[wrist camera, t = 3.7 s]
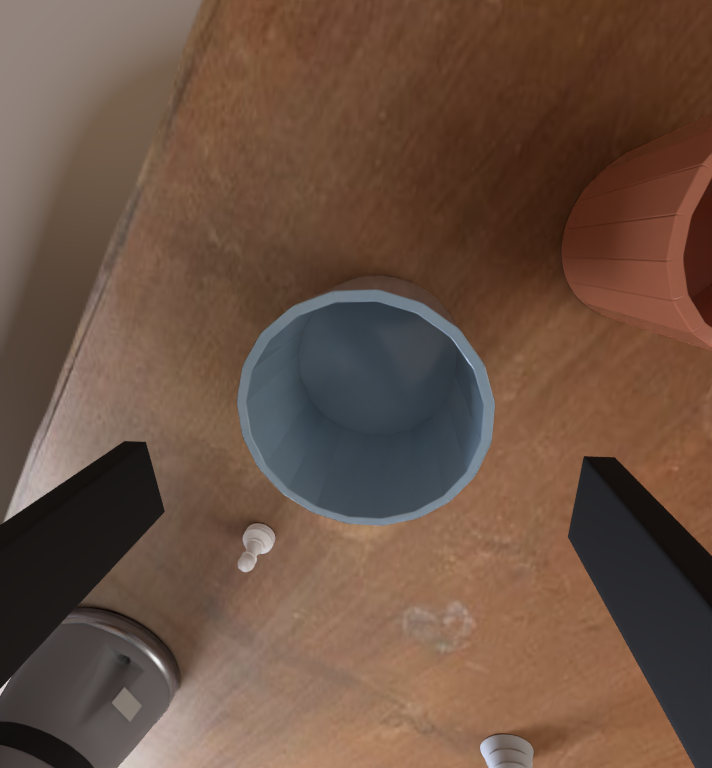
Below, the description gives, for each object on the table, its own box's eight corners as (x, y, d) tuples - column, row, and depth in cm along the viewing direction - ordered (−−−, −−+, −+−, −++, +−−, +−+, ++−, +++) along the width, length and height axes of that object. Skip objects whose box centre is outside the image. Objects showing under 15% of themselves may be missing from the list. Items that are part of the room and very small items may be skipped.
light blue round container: (302, 434, 27) (255, 519, 18) (287, 278, 23) (218, 294, 14) (457, 438, 25) (483, 531, 17) (467, 272, 21) (506, 285, 13)
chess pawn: (269, 520, 30) (253, 553, 26) (279, 545, 30) (264, 580, 27) (241, 524, 30) (222, 557, 27) (252, 548, 31) (234, 583, 28)
